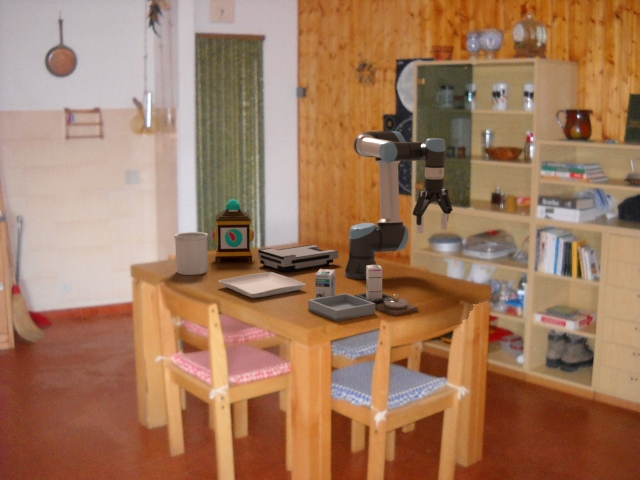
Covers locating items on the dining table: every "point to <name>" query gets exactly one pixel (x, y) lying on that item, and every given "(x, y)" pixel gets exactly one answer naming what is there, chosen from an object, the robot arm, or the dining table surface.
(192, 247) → the utensil holder
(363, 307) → the tray
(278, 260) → the game console
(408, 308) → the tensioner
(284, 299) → the dining table surface
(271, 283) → the square plate
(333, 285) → the light bulb box
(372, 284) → the syrup box
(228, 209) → the decorative lantern
